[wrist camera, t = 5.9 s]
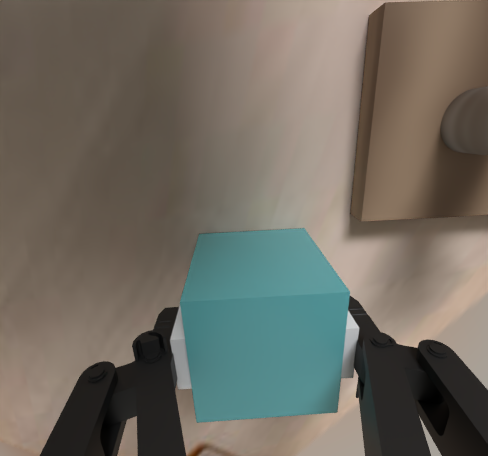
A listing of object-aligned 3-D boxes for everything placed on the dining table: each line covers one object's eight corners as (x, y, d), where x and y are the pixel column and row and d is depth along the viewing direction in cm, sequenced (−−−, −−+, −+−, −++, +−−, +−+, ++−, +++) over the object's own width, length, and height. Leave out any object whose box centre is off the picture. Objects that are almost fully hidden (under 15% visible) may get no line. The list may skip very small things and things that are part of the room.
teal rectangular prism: (208, 321, 19) (196, 422, 13) (199, 233, 17) (179, 302, 10) (301, 315, 19) (337, 412, 13) (304, 228, 17) (349, 291, 11)
